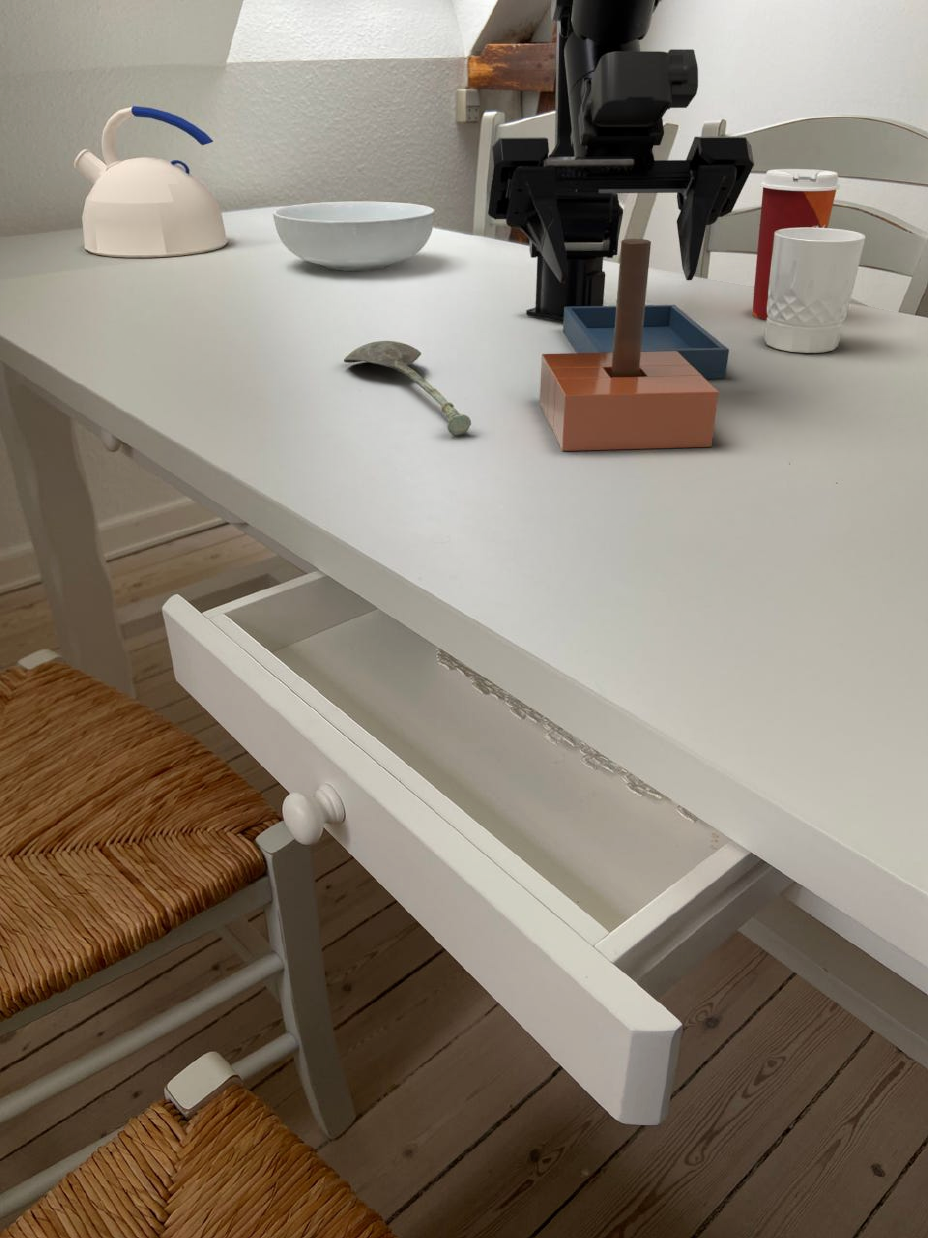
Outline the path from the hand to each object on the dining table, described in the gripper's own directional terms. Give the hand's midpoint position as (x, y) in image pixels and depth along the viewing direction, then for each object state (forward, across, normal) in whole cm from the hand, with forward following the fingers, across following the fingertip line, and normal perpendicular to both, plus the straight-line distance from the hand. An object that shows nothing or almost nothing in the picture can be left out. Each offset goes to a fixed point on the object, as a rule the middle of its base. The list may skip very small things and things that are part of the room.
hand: (627, 277), depth 69 cm
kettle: (-51, -50, +65) cm, 97 cm away
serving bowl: (-39, -21, +53) cm, 69 cm away
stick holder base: (+8, 0, +6) cm, 10 cm away
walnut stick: (+8, 0, +6) cm, 10 cm away
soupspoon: (+2, -16, +12) cm, 20 cm away
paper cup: (-15, +25, +30) cm, 42 cm away
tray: (-6, +6, +20) cm, 22 cm away
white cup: (-7, +22, +22) cm, 32 cm away
